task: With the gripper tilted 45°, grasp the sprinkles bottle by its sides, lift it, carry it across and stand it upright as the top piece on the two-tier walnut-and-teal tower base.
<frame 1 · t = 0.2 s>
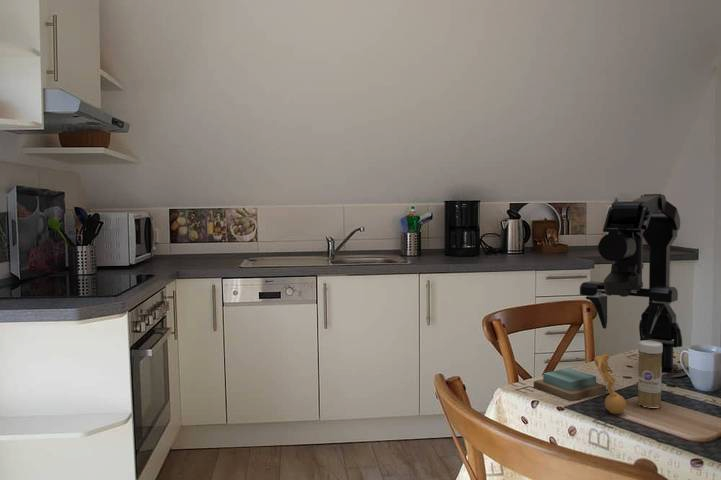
hand: (626, 330, 128), 14 cm above the table, tool pointing down, fingers open, 9 cm apart
sprinkles bottle: (649, 406, 123), on the table
tower base: (569, 390, 134), on the table
figurine: (609, 413, 119), on the table
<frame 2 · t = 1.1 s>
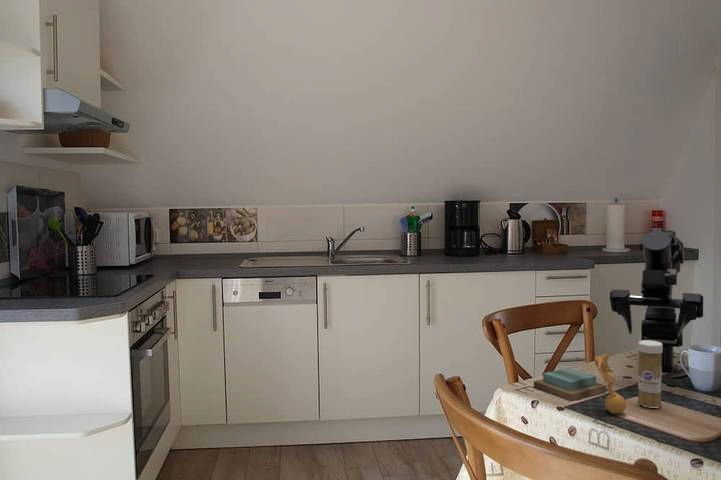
hand: (653, 334, 129), 13 cm above the table, tool tilted 45°, fingers open, 9 cm apart
nothing on the table moved.
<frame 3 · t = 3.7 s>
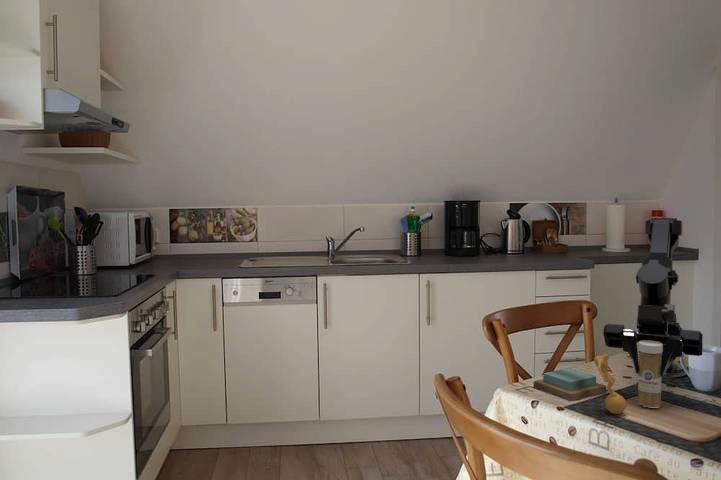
hand: (649, 374, 121), 7 cm above the table, tool tilted 45°, fingers closed on sprinkles bottle, 4 cm apart
sprinkles bottle: (649, 406, 123), on the table, touching gripper
everything else where it was.
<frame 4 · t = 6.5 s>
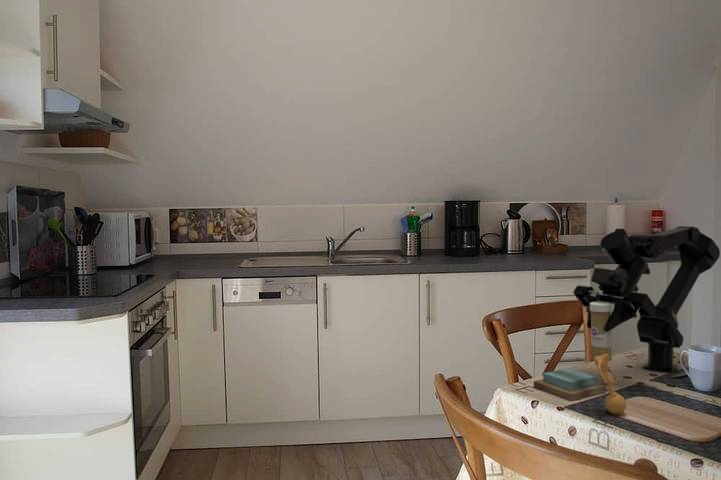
hand: (596, 329, 136), 13 cm above the table, tool tilted 45°, fingers closed on sprinkles bottle, 4 cm apart
sprinkles bottle: (601, 361, 137), point 6 cm above the table, touching gripper
everything else where it was.
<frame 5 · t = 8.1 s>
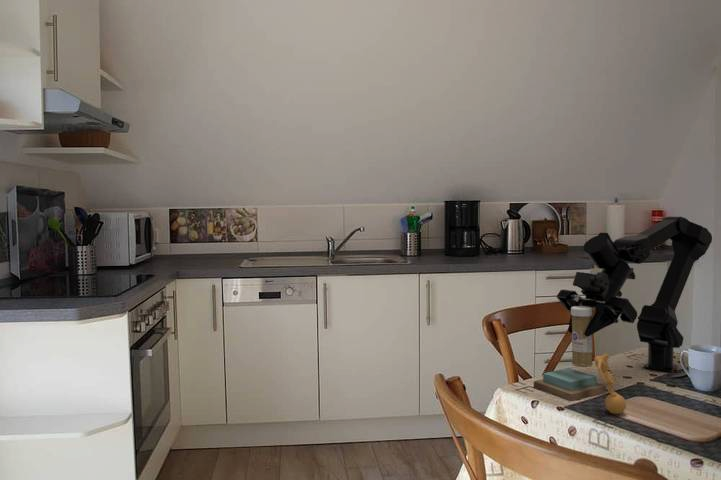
hand: (577, 333, 134), 13 cm above the table, tool tilted 45°, fingers closed on sprinkles bottle, 4 cm apart
sprinkles bottle: (582, 366, 135), point 5 cm above the table, touching gripper
everything else where it was.
when the fingers open (12 cm above the table, at t = 9.3 s): sprinkles bottle stays where it is, resting on tower base.
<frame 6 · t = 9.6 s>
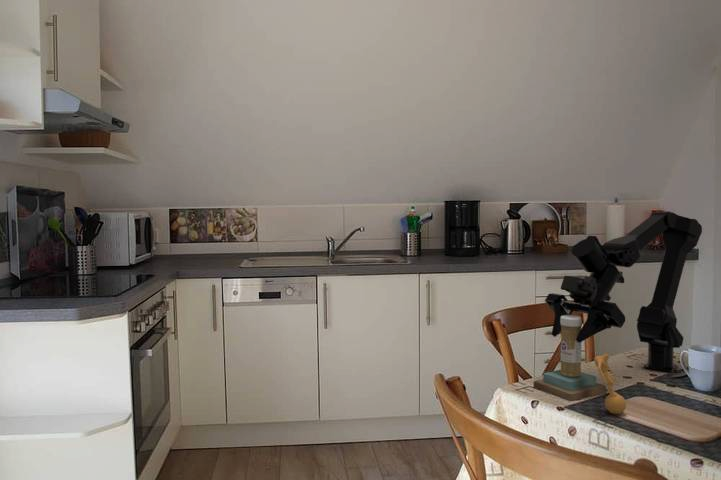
hand: (565, 338, 132), 12 cm above the table, tool tilted 45°, fingers open, 7 cm apart
sprinkles bottle: (571, 376, 133), point 3 cm above the table, touching tower base
everything else where it was.
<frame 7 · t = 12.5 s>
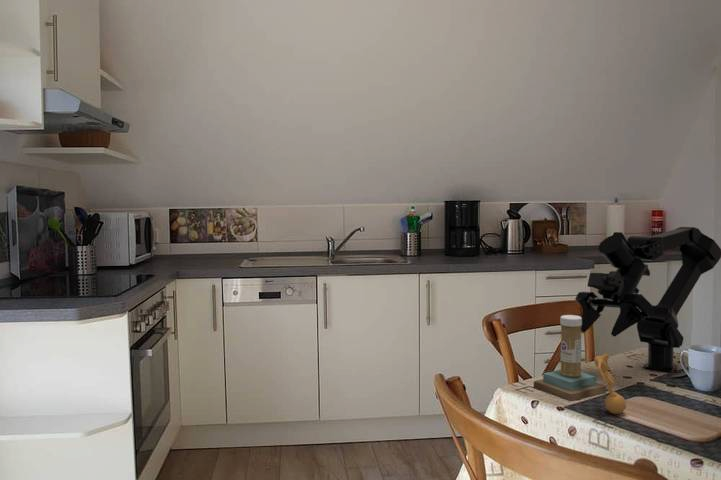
hand: (597, 333, 137), 12 cm above the table, tool tilted 40°, fingers open, 9 cm apart
nothing on the table moved.
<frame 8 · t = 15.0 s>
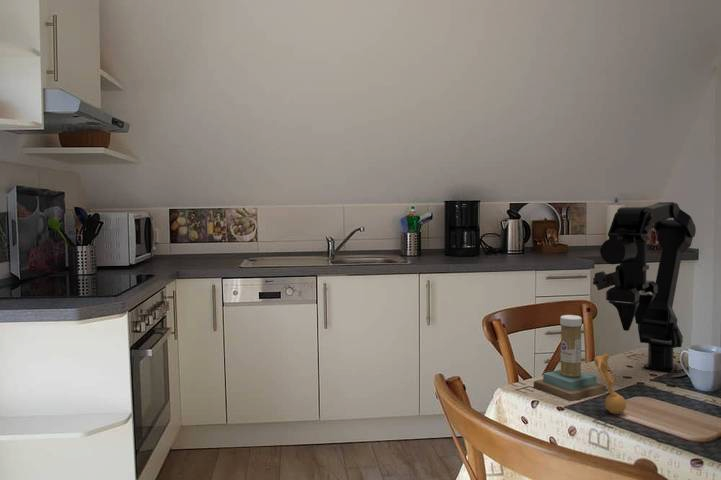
hand: (632, 327, 138), 13 cm above the table, tool pointing down, fingers open, 9 cm apart
nothing on the table moved.
at the end: sprinkles bottle 0.4 cm off-centre on the tower base, point 3.3 cm above the tower base's base; sprinkles bottle tilted 0°; the gripper is holding nothing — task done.
